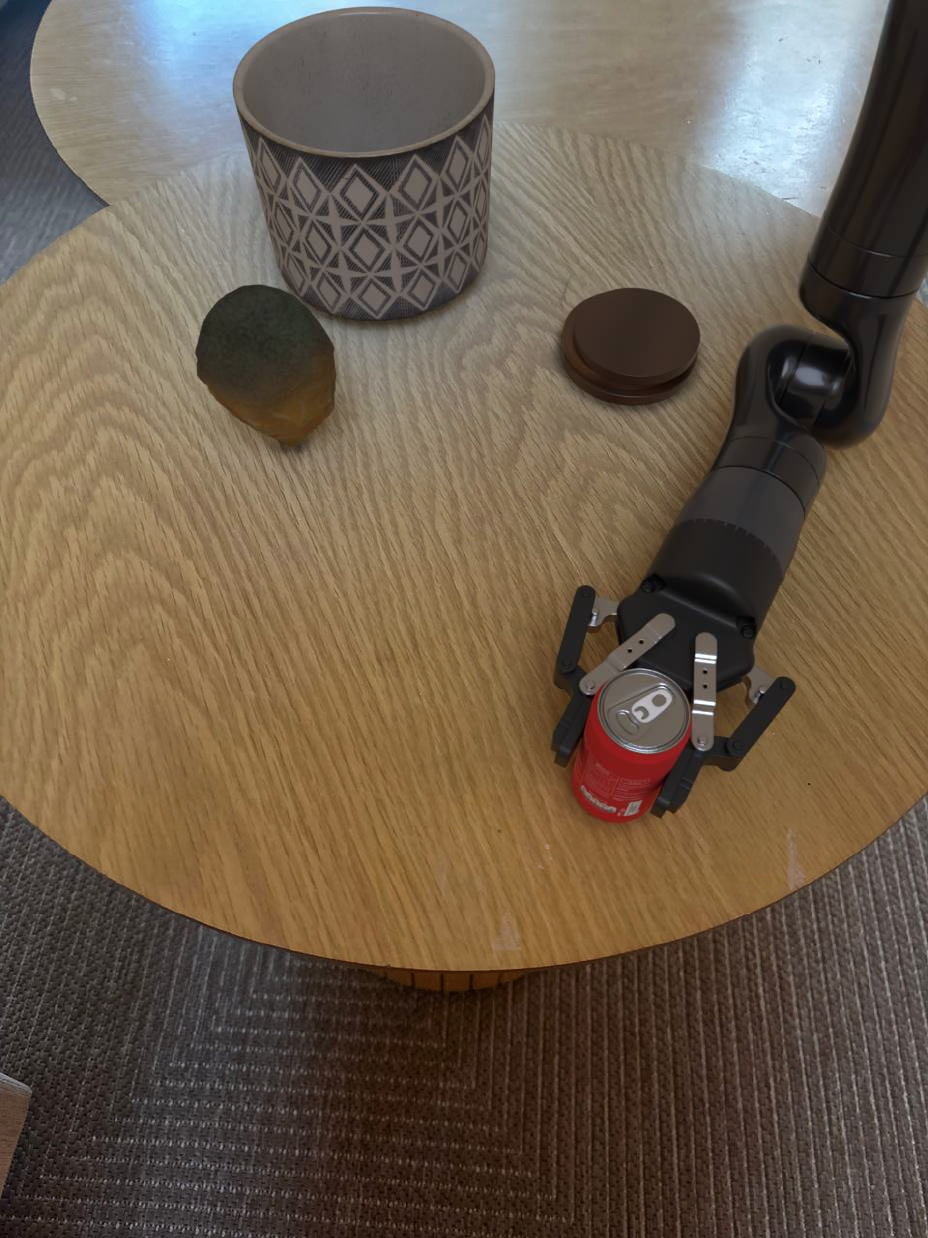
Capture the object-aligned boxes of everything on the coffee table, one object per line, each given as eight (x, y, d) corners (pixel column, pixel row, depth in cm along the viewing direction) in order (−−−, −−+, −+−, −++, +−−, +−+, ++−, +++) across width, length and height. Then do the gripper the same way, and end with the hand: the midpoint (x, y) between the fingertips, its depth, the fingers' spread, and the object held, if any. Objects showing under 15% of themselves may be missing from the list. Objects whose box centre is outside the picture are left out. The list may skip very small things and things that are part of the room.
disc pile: (702, 321, 75) (710, 293, 73) (685, 417, 70) (694, 389, 67) (574, 300, 77) (577, 271, 74) (548, 391, 71) (551, 364, 69)
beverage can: (553, 777, 55) (571, 698, 45) (616, 733, 57) (649, 646, 46) (606, 845, 53) (638, 778, 43) (670, 797, 55) (717, 720, 44)
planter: (489, 342, 74) (492, 157, 60) (261, 338, 75) (210, 153, 60) (493, 196, 84) (497, 6, 69) (291, 193, 84) (253, 4, 70)
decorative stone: (350, 412, 70) (322, 252, 57) (351, 473, 68) (322, 318, 54) (228, 421, 70) (172, 261, 57) (224, 482, 67) (164, 328, 54)
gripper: (627, 475, 54) (493, 698, 46) (859, 572, 50) (753, 831, 43) (610, 545, 60) (490, 750, 53) (814, 635, 57) (716, 869, 49)
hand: (609, 785), depth 48 cm, fingers closed on beverage can, 5 cm apart
